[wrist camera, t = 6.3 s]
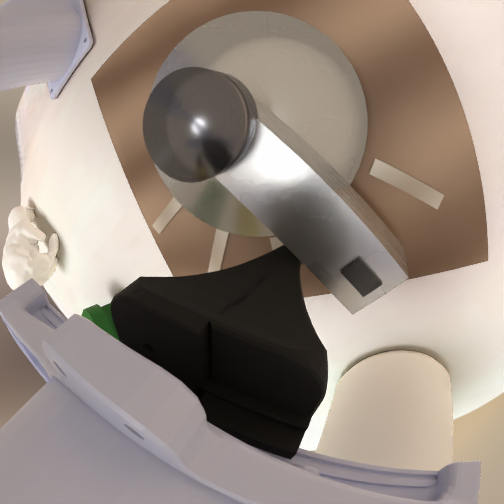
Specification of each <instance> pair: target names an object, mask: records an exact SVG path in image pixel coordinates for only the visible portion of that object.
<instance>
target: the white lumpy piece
mask: <svg viewBox="0 0 504 504" xmlns="http://www.w3.org/2000/svg"><path fill="white" fill-rule="evenodd" d="M33 209H34V208H32V209H31V208H29V207H23V206H18V207H15V208H14V209H13V210H12V211H11V213H10V215H9V218H8V225H9V233H8V236H7V238H6V244H5V246H4V250H3V251H4V252H3V258H2V265H3V270H4V274H5V278H6V280H7V282H8V285H9V286H10V287H11V288H12V289H13V290H15V289H16V288H18V287H19V286H21V285H22V284H24V283H25V282H27V281H28V280H29V279H31V278H33V279H34V280H35V281H36V282H37V283H38V284H39V285H40V286H42V285H43V284H44V283H45V282H46V281H47V280H48V279H49V278H50V277H51V276H52V274H53V273H54V272H55V270H56V266H57V263H58V258H57V257H56V254H57V251H58V248H59V241H58V235H57V234H56V233H53V234H52V235H51V237H50V240H49V244H48V253H43V254H42V253H40V252H39V245H38V241H40V242H42V241H44V240H45V238H46V235H45V234H44V233H43V232H42V231H40V230H39V229H38V228H36V227H34V226H35V225H33V224H34V223H33V224H32V222H33V220H34V219H35V214H34V210H33Z"/></svg>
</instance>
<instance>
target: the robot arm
mask: <svg viewBox="0 0 504 504" xmlns="http://www.w3.org/2000/svg"><path fill="white" fill-rule="evenodd" d="M92 45H93V38H92V35H91V31H90V27H89V23H88V19H87V15H86V11H85V6H84V2H83V0H8V1H6V2H4V3H3V4H2V5H1V6H0V91H4V90H8V89H13V88H17V87H23V86H28V85H34V84H40V83H47V82H48V87H49V92H50V97H51V99H56V97H57V96H58V94H59V92H60V91H61V89H62V88H63V86H64V85H65V83H66V81H67V80H68V78H69V77H70V75H71V74H72V73H73V71H74V70H75V68H76V67H77V65H78V64H79V63H80V61H81V60H82V59H83V57H84V56H85V55H86V53H87V52H88V51H89V50H90V48H91V47H92ZM301 263H302V262H301V261H300V260H299V259H298V258H297V257H296V256H295V255H294V254H293V253H292V252H291V251H290V250H289V249H288V248H287V247H286V246H285V245H282V246H280V247H279V248H277V249H275V250H273V251H271V252H268V253H266V254H264V255H262V256H260V257H258V258H255V259H253V260H250V261H248V262H245V263H243V264H240V265H237V266H234V267H230V268H227V269H223V270H219V271H214V272H209V273H203V274H198V275H189V276H178V277H139V278H138V279H137V280H135V281H134V282H133V283H131V284H130V285H129V286H127V287H126V288H125V289H124V290H122V291H121V292H120V293H118V294H117V295H116V296H115V297H114V298H113V299H112V301H111V315H112V319H113V322H114V325H115V328H116V331H117V334H118V337H119V340H120V341H118V340H117V339H115V338H114V337H112V336H111V335H110V334H108V333H107V332H105V331H104V330H102V329H101V328H100V327H98V326H97V325H95V324H94V323H93V322H91V321H90V320H89V319H87V318H85V317H82V316H80V315H77V314H74V315H73V316H71V317H70V318H69V319H68V320H67V319H66V318H65V317H63V316H62V315H61V314H60V313H59V312H58V311H57V310H56V309H55V308H54V307H52V306H51V305H50V304H49V301H48V298H47V296H46V293H45V291H44V290H43V288H42V287H41V286H40V285H39V284H38V283H37V282H36V281H35V280H34V279H33V278H31V279H29V280H28V281H27V282H25V283H24V284H22V285H21V286H19V287H18V288H16V289H15V290H14V291H12V292H11V293H10V294H8V295H7V296H5V297H4V298H3V299H1V300H0V315H1V316H2V319H3V321H4V322H5V324H6V326H7V328H8V329H9V331H10V333H11V335H12V336H13V338H14V339H15V341H16V343H17V344H18V346H19V347H20V348H21V350H22V351H23V352H24V354H25V355H26V356H27V358H28V359H29V360H30V362H31V363H32V364H33V366H34V367H35V368H36V370H37V371H38V372H39V373H40V375H41V376H42V377H43V378H44V379H45V381H46V382H47V383H46V384H45V385H44V386H43V387H42V388H41V389H40V390H39V391H38V392H37V393H36V394H35V395H34V396H33V397H32V398H31V399H30V400H29V401H28V402H27V403H26V404H25V405H24V406H23V407H22V408H21V409H20V410H19V411H18V412H17V413H16V414H15V415H14V416H13V417H12V418H11V419H10V420H9V421H8V422H7V423H6V424H5V425H4V426H3V427H2V428H1V429H0V504H478V497H479V486H480V473H481V461H460V462H454V463H451V464H448V465H446V466H445V467H443V468H442V469H440V470H439V471H430V470H412V469H400V468H391V467H383V466H376V465H370V464H364V463H358V462H353V461H348V460H343V459H339V458H334V457H330V456H326V455H322V454H318V453H314V452H311V451H307V450H304V449H301V448H299V446H300V443H301V441H302V438H303V436H304V433H305V431H306V430H307V428H308V426H309V423H310V420H311V418H312V416H313V414H314V413H315V411H316V410H317V408H318V407H319V405H320V404H321V402H322V401H323V399H324V396H325V393H326V389H327V381H328V361H327V350H326V349H325V347H324V346H323V344H322V342H321V341H320V339H319V337H318V336H317V334H316V331H315V329H314V327H313V325H312V323H311V320H310V317H309V315H308V312H307V309H306V306H305V302H304V298H303V294H302V288H301V280H300V267H301Z"/></svg>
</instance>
